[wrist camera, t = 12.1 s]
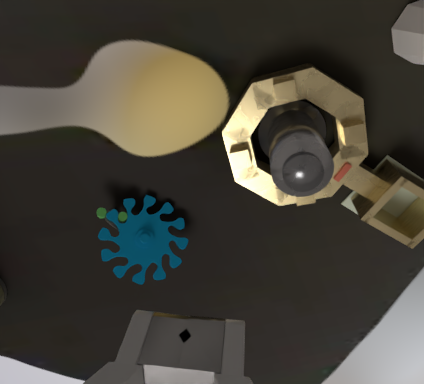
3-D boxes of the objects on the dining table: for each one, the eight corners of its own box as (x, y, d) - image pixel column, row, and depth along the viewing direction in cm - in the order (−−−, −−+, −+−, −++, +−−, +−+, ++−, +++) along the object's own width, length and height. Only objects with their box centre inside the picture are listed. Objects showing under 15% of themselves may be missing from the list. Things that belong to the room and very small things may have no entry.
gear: (205, 229, 42) (153, 303, 38) (195, 234, 47) (148, 299, 44) (129, 170, 41) (69, 241, 37) (127, 182, 46) (74, 245, 43)
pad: (340, 203, 40) (341, 204, 40) (387, 154, 37) (387, 155, 37) (388, 233, 41) (389, 234, 41) (437, 188, 38) (438, 189, 38)
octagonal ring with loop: (206, 153, 39) (201, 170, 35) (274, 40, 33) (276, 45, 29) (375, 248, 42) (386, 271, 38) (464, 161, 36) (488, 179, 32)
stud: (261, 98, 35) (264, 130, 27) (331, 102, 35) (356, 135, 26) (255, 161, 39) (256, 207, 30) (319, 165, 38) (338, 214, 30)
